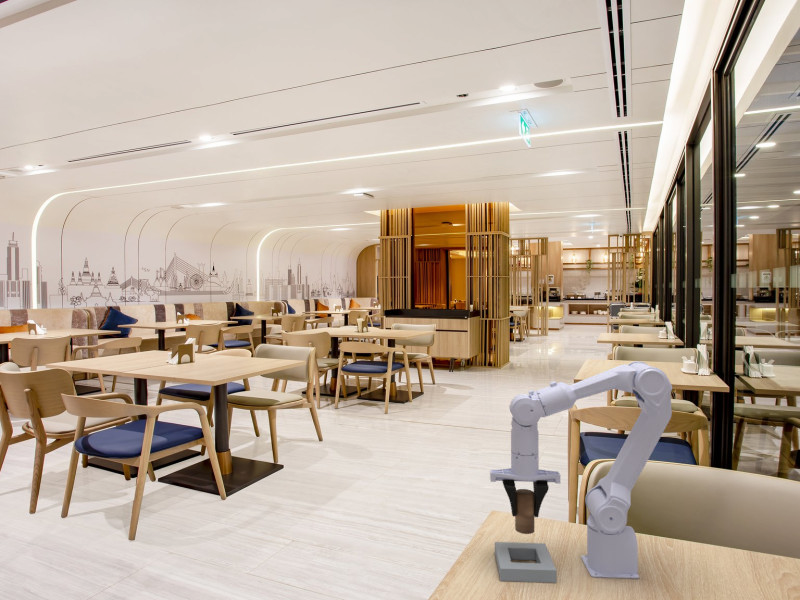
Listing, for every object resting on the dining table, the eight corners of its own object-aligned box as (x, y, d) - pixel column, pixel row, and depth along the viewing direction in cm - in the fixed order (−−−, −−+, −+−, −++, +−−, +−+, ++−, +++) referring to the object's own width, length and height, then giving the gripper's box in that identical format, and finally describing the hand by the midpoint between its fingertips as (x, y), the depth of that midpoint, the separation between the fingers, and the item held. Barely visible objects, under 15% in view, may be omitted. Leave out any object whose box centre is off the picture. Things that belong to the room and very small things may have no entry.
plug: (533, 525, 112) (533, 489, 112) (535, 534, 108) (535, 496, 108) (514, 524, 113) (514, 488, 113) (516, 533, 109) (516, 495, 109)
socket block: (545, 554, 114) (545, 543, 114) (556, 582, 103) (556, 570, 103) (494, 553, 114) (494, 541, 114) (500, 580, 103) (500, 568, 103)
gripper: (555, 446, 113) (555, 508, 114) (488, 445, 115) (489, 505, 115) (562, 457, 106) (562, 522, 107) (491, 455, 108) (491, 519, 108)
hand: (524, 514), depth 110 cm, fingers closed on plug, 4 cm apart
